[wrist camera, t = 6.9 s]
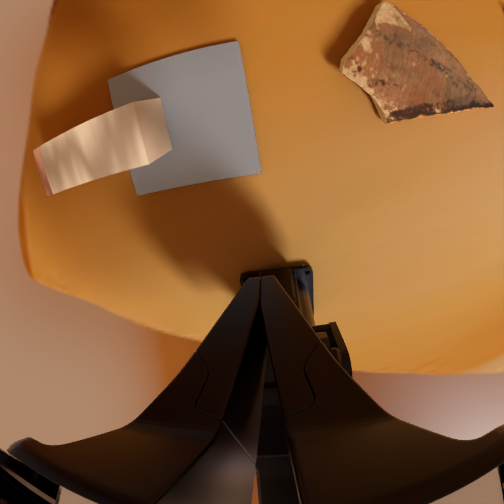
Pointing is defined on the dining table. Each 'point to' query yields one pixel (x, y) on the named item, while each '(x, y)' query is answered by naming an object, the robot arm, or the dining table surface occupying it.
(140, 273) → the dining table surface
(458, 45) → the dining table surface
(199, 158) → the mat
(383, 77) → the shard
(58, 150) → the block
